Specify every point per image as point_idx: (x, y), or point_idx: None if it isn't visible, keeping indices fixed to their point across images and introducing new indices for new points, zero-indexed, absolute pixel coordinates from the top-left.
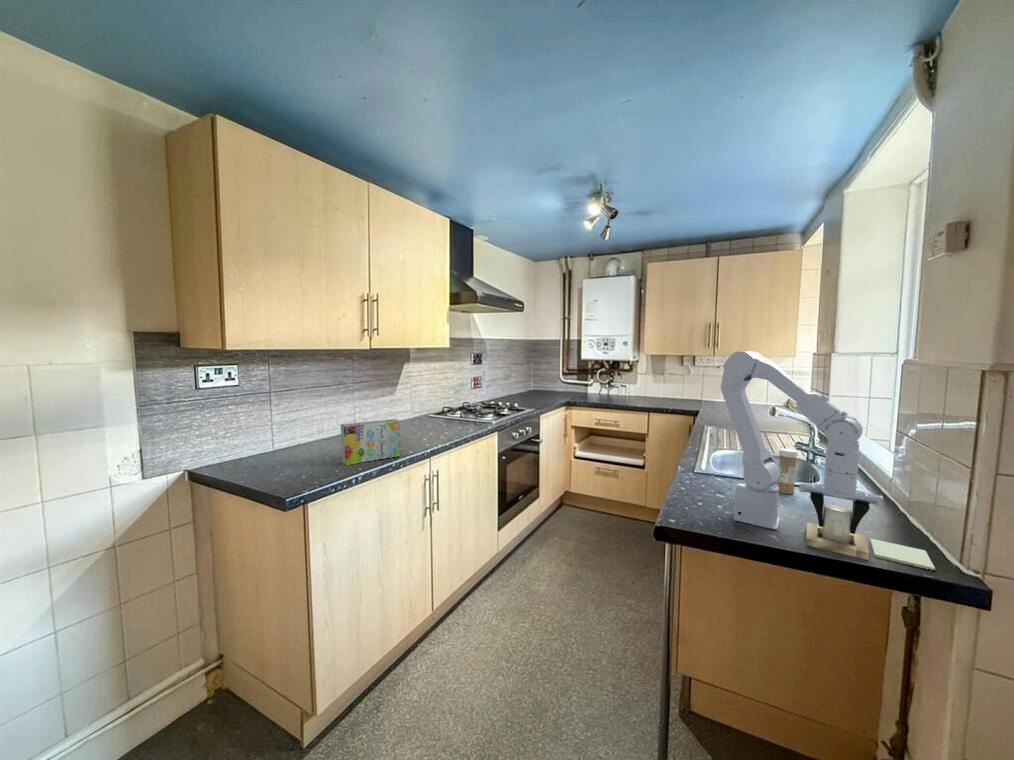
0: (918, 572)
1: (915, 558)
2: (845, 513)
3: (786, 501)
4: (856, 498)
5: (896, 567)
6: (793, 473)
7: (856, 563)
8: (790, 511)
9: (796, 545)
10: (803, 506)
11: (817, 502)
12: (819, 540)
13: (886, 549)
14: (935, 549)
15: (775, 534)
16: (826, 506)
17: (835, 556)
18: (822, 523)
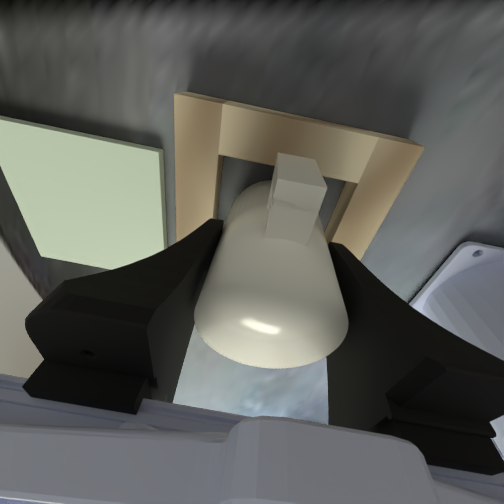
0: (22, 59)
1: (45, 180)
2: (239, 281)
3: (312, 406)
4: (96, 432)
5: (92, 69)
6: None
7: (241, 5)
8: (326, 371)
9: (464, 110)
10: (282, 395)
11: (455, 347)
12: (366, 147)
13: (125, 216)
14: (36, 282)
15: (494, 202)
16: (322, 348)
17: (318, 55)
18: (337, 250)
